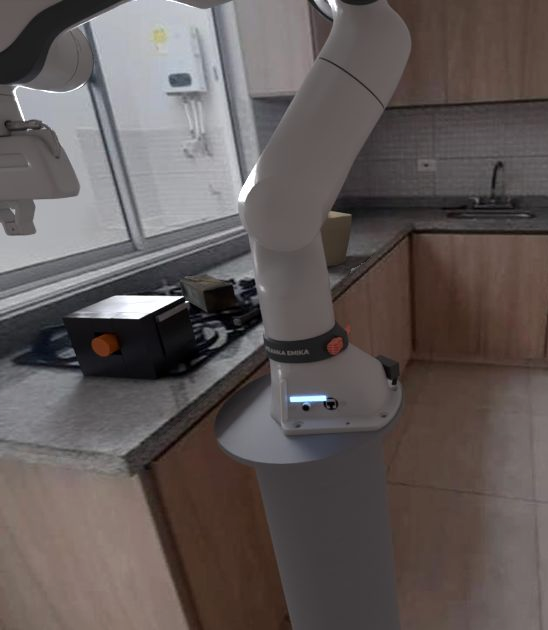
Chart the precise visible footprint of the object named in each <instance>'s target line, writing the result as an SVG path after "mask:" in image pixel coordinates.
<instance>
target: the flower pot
mask: <svg viewBox="0 0 548 630" xmlns="http://www.w3.org/2000/svg"><path fill="white" fill-rule="evenodd" d="M352 217H353V216H352V213H351V214H350V213H345V212H338V211H332V210H330V212H329V214H328V216H327V218H326V220H325V222H324V223H323V225H322V227H321V229H320V231H321V237H322V243H323V248H324V254H325V259H326V264H327V268H328V267H332V266H333V267H334V266H337V265H342V264H344V263H345V260H346V257H347V252H348V248H349V244H350V239H351V230H352V221H353V220H352Z"/></svg>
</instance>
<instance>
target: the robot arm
mask: <svg viewBox="0 0 548 630" xmlns="http://www.w3.org/2000/svg"><path fill="white" fill-rule="evenodd" d="M135 1H136V0H0V223H1V225H2V227H3V231H4V233H5V234H6V236H10V237H15V236H22V237H23V236H32V235H35V234H36V233H37V229H36V226H35V223H34V219H35V218H34V217H35V212H36V204H35V201H34V200H37V201H38V200H59V199H67V198H75V197H78V196H79V194H80V191H81V183H80V181H79V178H78V176H77V175H78V174H77V173H76V170H75V168H74V166H73V164H72V161H71V160H70V158H69V155H68V153H67V151H66V149H65V147H64V146H63V145H62V143H61V142H60V140H59V137H58V134H57V133H56V131H55V130H54V129H53V128H51V127H50V126H49V124H46V123H45V122H44V121H42V120H41V119H36V118H35V119H28V120H25V118H24V114H23V112H22V108H21V106H20V103H19V100H18V97H17V94H16V91H17V89H18V88H24V89H29V90H35V91H43V92H46V93H52V94H64V93H69V92H75V91H77V90H80V89H81V88H83V87H84V86H85V85H87V84H88V82H89V81H90V79H91V77H92V76H93V73H94V68H95V59H94V53H93V49H92V47H91V45H90V42H89V40H88V38H87V37H86V35H84V33H83V31H81V29H80V28H78V27H80V26H82V25H84V24H86V23H88V22H90V21H92V20H94V19H96V18H98V17H100V16H102V15H104V14H106V13H109V12H111V11H112V10H113V11H114V10H115V9H117V8H119V7H121V6H123V5H125V4H129V3H131V2H135ZM233 1H234V0H167V2H173V3H177V4H180V5H183V6H186V7H191V8H194V9H199V10H208V9H213V8H215V7H218V6H222V5H225V4H228V3H230V2H233ZM307 1H308V2H309V4H310V5H311V6H312V7H313V9H315V11H317V13H318V14H319V15H320V16H321V17H322V18H323V19H325V21H327V22H328V23H330V24H332V25H331V29H330V33H329V35H328V37H327V39H326V40H325V43H324V45H323V46H322V48H321V50H320V51H319V53H318V55H317V56H316V58H315V60H314V62H313V64H312V65H311V66H310V69H309V70H308V73H307V74H306V76H305V78H304V79H303V81H302V83H301V85H300V86H299V88H298V90H297V92H296V93H295V95H294V97H293V99H291V102H290V103H289V105H288V107H287V108H286V111H285V112H284V115H282V118H281V120H280V121H279V122H278V125H277V126H276V128H275V130H274V132H273V134H272V135H271V136H270V139H269V140H268V142H267V144H266V146H265V148H264V149H263V151H262V153H261V154H260V156H259V158H258V160H257V162H256V163H255V164H254V167H253V168H252V170H251V172H250V173H249V175H248V177H247V178H246V181H244V182H245V183H244V184H243V186H242V188H241V190H240V192H239V196H238V202H237V203H238V204H237V209H238V211H237V212H238V216H239V220H240V223H241V225H242V227H243V229H244V230H245V232H246V233H247V236H248V241H249V248H250V254H251V261H252V267H253V275H254V283H255V286H256V287H255V289H256V294H257V299H258V305H259V308H260V309H261V320H262V323H263V324H262V325H263V329H264V331H263V332H262V338H263V346H264V351H265V355H266V358H267V359H268V361H269V365H270V366H269V367H270V373H271V383H272V391H271V404H270V414H271V416H272V418H273V419H274V420H276V421H277V422H278V423H279V424H280V425H281V427H282V431H283V433H284V434H285V435H307V434H326V433H346V432H365V431H377V430H380V429H381V428H383V427H384V426H386V425H387V424H388V423H389V422H390V421H391V420H392V419H393V417H394V416H395V414H396V413H397V411H398V409H399V407H400V403H401V399H402V392H401V388H400V385H399V384H398V383H397V379H398V378H399V377H400V376H401V371H400V361H399V362H398V361H396V360H394V359H392V358H389V357H387V356H385V355H382V354H379V355H376V356H372V355H370V354H369V353H367V352H365V351H364V350H362V349H360V348H359V347H357V346H355V344H352V343H351V342H349V334H350V332H351V325H350V324H347V326H346V327H345V328H343V327H342V326H341V325H340V324H339V323H338V321H337V320H336V319H335V318H336V317H335V310H334V303H333V296H332V289H331V287H332V286H331V281H330V280H331V279H330V274H329V269H328V267H327V264H326V259H325V254H324V248H323V243H322V237H321V231H320V229H321V227H322V225H323V223H324V222H325V220H326V218H327V216H328V214H329V212H330V211H332V208H333V206H334V204H335V203H336V201H337V199H338V197H339V194H340V192H341V190H342V188H343V186H344V184H345V182H346V179H347V178H348V175H349V173H350V171H351V169H352V167H353V164H354V162H355V161H356V158H357V157H358V155H359V153H360V152H361V150H362V149H363V147H364V145H365V144H366V142H367V140H368V139H369V137H370V135H371V133H372V132H373V130H374V128H375V127H376V125H377V123H378V122H379V120H380V118H381V117H382V115H383V113H384V112H385V110H386V108H387V107H388V105H389V103H390V101H391V99H392V97H393V95H394V94H395V92H396V90H397V87H398V85H399V84H400V81H401V79H402V77H403V74H404V71H405V69H406V66H407V63H408V60H409V58H410V54H411V51H412V37H411V33H410V30H409V28H408V26H407V24H406V23H405V21H404V19H403V18H402V16H400V15H399V13H397V12H396V11H395V9H393V8H392V7H391V5H389V3H388V0H307ZM12 210H14V212H13V211H12ZM387 379H389V380H387ZM391 380H392V381H391ZM398 380H399V379H398Z"/></svg>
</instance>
